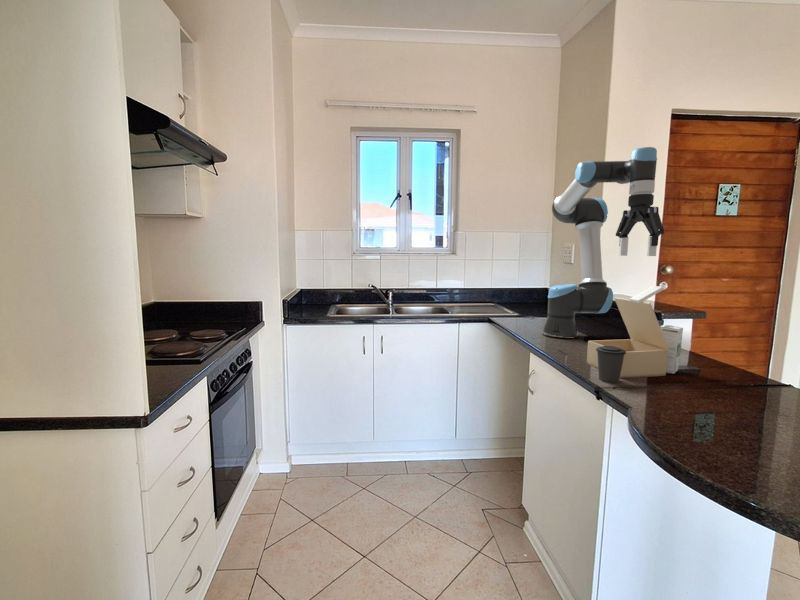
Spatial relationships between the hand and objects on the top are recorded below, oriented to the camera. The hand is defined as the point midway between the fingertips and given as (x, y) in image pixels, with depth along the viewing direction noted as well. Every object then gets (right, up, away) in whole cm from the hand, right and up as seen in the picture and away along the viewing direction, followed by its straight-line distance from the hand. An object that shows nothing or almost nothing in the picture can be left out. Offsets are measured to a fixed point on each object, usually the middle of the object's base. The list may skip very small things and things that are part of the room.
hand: (636, 255), depth 141 cm
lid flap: (-7, -23, -13) cm, 27 cm away
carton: (-11, -38, -11) cm, 41 cm away
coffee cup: (-21, -40, -22) cm, 50 cm away
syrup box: (+2, -39, -13) cm, 41 cm away
